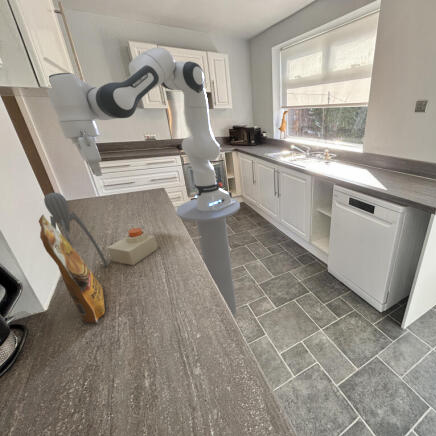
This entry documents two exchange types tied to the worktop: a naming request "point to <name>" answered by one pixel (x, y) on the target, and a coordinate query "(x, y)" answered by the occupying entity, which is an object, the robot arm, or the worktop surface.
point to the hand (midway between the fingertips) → (97, 174)
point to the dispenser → (132, 248)
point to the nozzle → (135, 232)
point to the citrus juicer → (66, 217)
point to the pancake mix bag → (74, 273)
